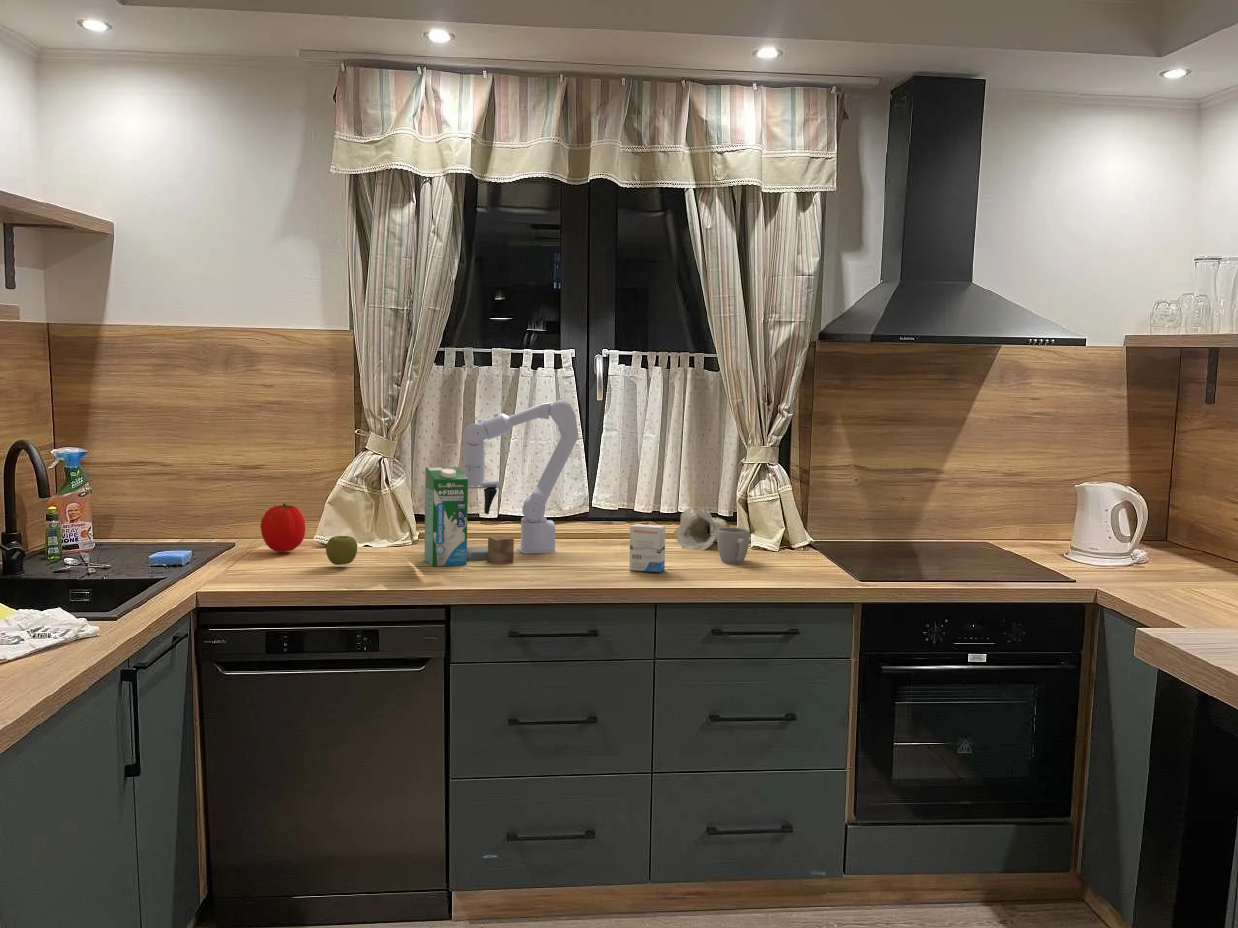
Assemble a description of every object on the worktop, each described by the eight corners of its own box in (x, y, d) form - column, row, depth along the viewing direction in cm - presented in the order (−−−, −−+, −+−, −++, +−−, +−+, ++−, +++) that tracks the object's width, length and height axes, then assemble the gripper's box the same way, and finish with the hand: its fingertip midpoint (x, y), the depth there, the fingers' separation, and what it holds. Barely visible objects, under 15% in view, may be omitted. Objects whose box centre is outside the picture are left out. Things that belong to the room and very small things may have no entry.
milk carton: (432, 566, 239) (433, 470, 237) (424, 560, 248) (425, 466, 245) (466, 564, 243) (468, 469, 241) (457, 558, 251) (458, 466, 249)
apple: (345, 568, 234) (345, 540, 234) (319, 565, 237) (319, 537, 237) (363, 563, 242) (363, 535, 241) (337, 560, 244) (337, 533, 244)
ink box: (665, 569, 244) (666, 525, 243) (659, 573, 240) (661, 528, 239) (634, 566, 247) (635, 522, 246) (628, 570, 243) (629, 525, 242)
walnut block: (504, 559, 252) (504, 535, 251) (513, 562, 248) (513, 538, 247) (487, 561, 249) (488, 537, 249) (496, 564, 245) (497, 540, 245)
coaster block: (494, 554, 261) (494, 545, 261) (503, 560, 253) (503, 551, 252) (462, 556, 257) (462, 546, 257) (470, 562, 249) (470, 552, 249)
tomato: (305, 546, 262) (305, 500, 261) (305, 554, 250) (305, 506, 249) (261, 548, 258) (261, 500, 257) (259, 556, 247) (259, 506, 246)
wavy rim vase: (704, 558, 267) (726, 561, 283) (721, 517, 266) (743, 522, 282) (669, 542, 272) (693, 545, 288) (686, 501, 271) (709, 507, 287)
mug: (711, 561, 257) (712, 527, 256) (741, 561, 260) (742, 527, 259) (726, 570, 246) (728, 534, 245) (758, 569, 248) (759, 534, 247)
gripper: (495, 464, 269) (494, 511, 270) (445, 465, 263) (444, 512, 264) (502, 467, 262) (501, 514, 263) (451, 467, 256) (450, 516, 257)
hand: (473, 514), depth 263 cm, fingers open, 7 cm apart
